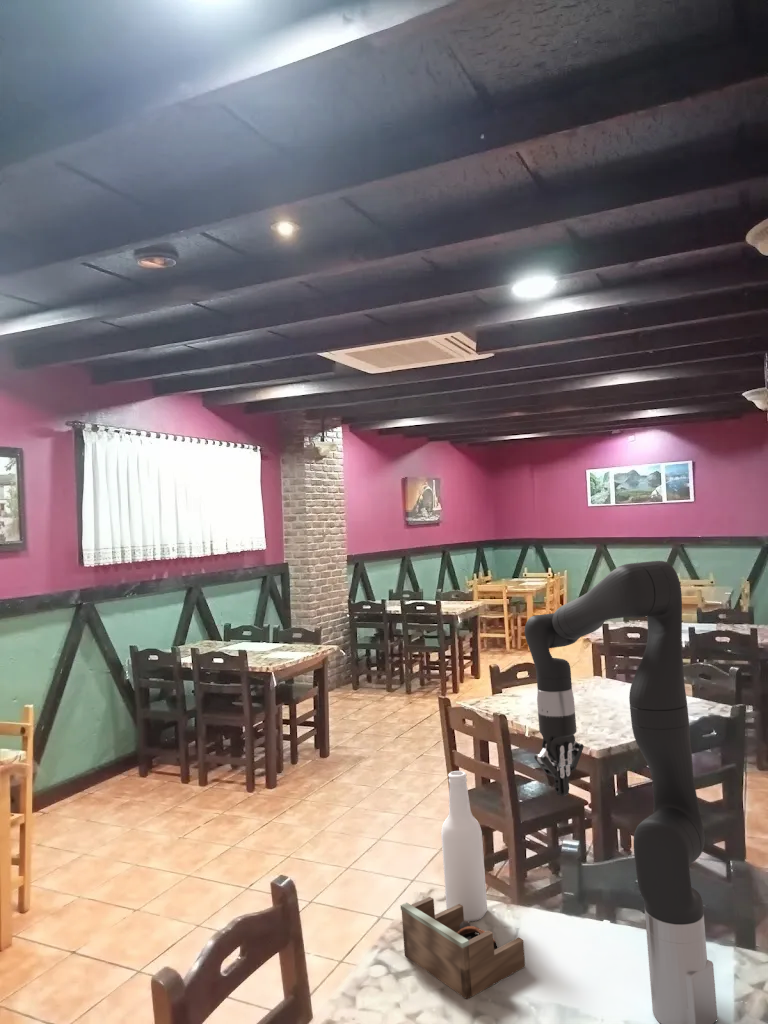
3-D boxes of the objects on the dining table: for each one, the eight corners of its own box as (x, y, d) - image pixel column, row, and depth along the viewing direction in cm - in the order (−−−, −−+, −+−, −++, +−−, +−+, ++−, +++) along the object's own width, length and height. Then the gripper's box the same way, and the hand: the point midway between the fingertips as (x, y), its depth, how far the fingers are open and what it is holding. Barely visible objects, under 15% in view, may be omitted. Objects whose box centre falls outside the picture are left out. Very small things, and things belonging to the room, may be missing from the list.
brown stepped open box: (525, 966, 139) (521, 913, 139) (466, 999, 130) (462, 943, 131) (460, 928, 154) (457, 880, 154) (403, 955, 145) (400, 905, 146)
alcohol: (473, 927, 154) (463, 782, 155) (438, 916, 160) (429, 776, 160) (495, 909, 161) (485, 770, 162) (461, 898, 166) (451, 764, 167)
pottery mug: (515, 974, 138) (498, 945, 135) (473, 1005, 136) (455, 976, 134) (487, 927, 149) (471, 900, 146) (447, 955, 147) (431, 928, 145)
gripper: (548, 719, 146) (554, 808, 146) (591, 706, 154) (598, 790, 153) (520, 713, 152) (526, 798, 152) (563, 701, 160) (569, 782, 159)
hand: (562, 794), depth 152 cm, fingers closed
